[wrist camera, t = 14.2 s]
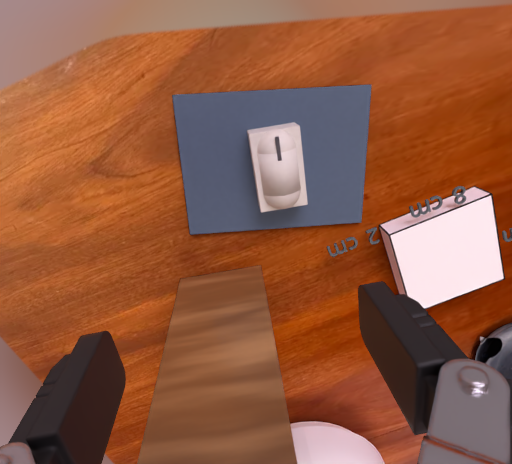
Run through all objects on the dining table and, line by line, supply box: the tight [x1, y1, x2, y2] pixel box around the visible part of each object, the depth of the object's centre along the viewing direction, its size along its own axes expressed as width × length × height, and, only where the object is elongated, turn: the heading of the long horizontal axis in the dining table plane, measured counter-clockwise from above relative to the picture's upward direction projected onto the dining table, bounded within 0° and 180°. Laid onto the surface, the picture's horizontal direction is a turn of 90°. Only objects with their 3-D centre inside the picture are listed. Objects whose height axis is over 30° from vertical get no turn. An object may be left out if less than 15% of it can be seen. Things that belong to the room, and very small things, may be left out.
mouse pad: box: [172, 85, 371, 235], centre depth 31 cm, size 16×12×1 cm
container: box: [327, 186, 512, 309], centre depth 34 cm, size 20×12×3 cm, turn 113°
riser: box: [137, 265, 297, 464], centre depth 25 cm, size 12×8×28 cm, turn 8°
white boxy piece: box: [247, 122, 308, 212], centre depth 29 cm, size 7×4×4 cm, turn 9°
